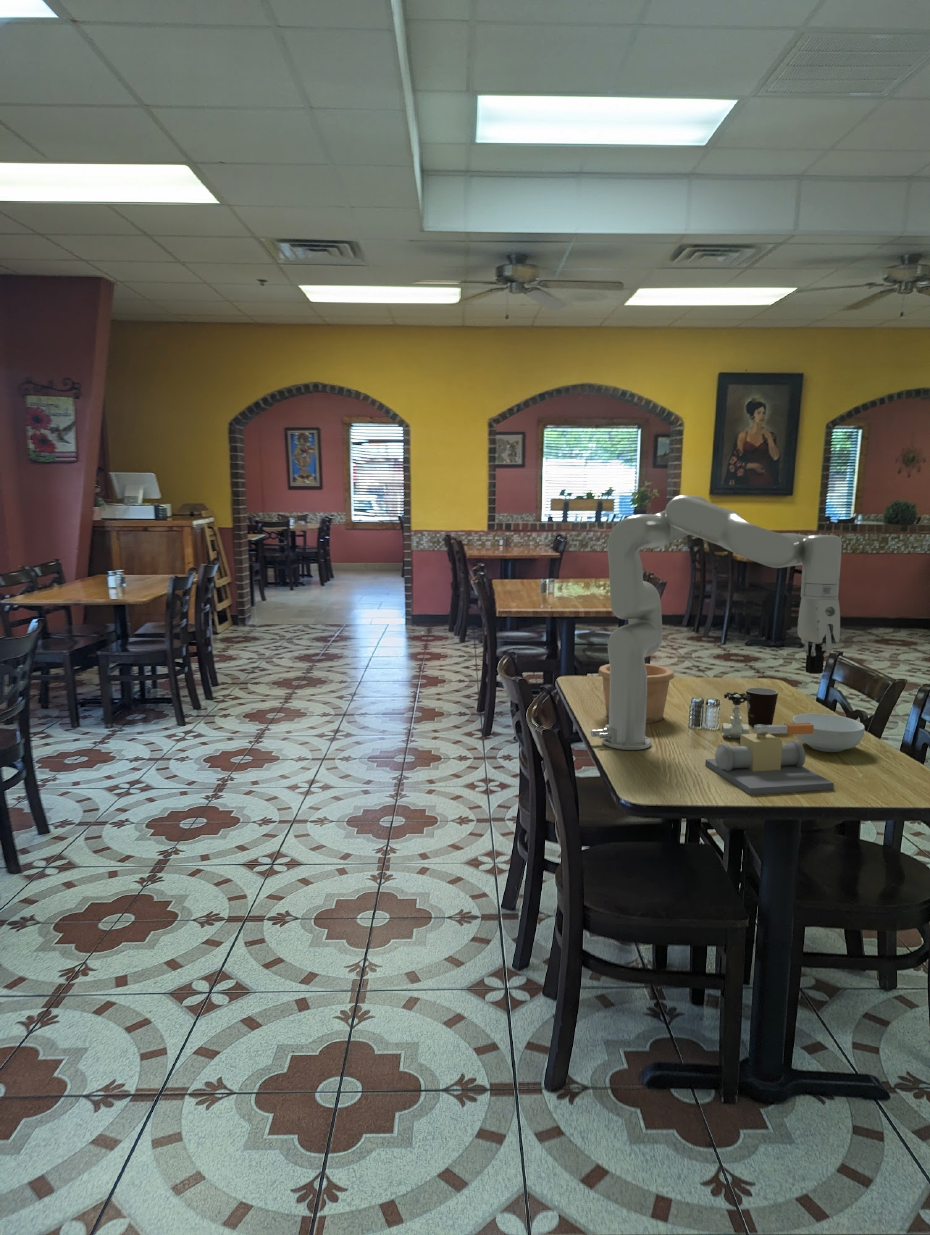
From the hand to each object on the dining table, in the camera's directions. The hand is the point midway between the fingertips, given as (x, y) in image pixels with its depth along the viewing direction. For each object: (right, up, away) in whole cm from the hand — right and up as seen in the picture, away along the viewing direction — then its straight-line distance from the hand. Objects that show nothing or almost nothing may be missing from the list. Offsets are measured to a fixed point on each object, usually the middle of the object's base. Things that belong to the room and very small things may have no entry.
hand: (814, 672), depth 171 cm
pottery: (-27, -18, +59) cm, 67 cm away
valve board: (-8, -24, +6) cm, 26 cm away
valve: (-5, -21, +37) cm, 42 cm away
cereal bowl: (+16, -22, +28) cm, 39 cm away
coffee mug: (+8, -19, +51) cm, 55 cm away
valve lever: (-4, -15, +8) cm, 17 cm away
